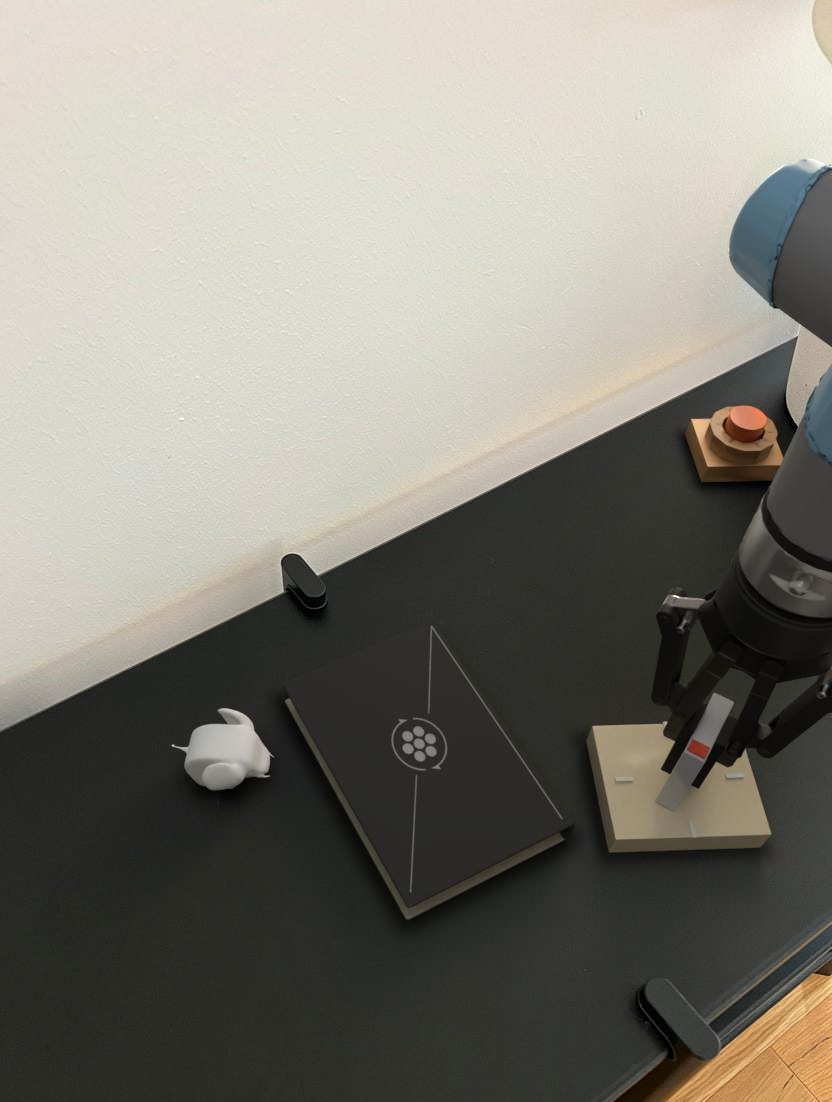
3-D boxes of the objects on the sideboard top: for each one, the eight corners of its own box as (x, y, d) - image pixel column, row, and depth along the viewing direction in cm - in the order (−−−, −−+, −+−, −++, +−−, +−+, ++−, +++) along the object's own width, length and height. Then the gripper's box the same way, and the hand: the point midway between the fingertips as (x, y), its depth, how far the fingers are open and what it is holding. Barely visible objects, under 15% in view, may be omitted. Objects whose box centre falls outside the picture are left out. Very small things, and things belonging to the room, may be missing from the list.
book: (571, 838, 77) (578, 821, 75) (406, 922, 73) (408, 908, 71) (433, 638, 88) (435, 618, 86) (283, 701, 84) (281, 682, 82)
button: (755, 418, 100) (761, 404, 99) (765, 442, 98) (771, 429, 97) (720, 418, 100) (725, 405, 99) (729, 443, 98) (735, 430, 96)
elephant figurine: (267, 815, 78) (262, 781, 73) (169, 805, 79) (157, 770, 74) (281, 742, 82) (277, 704, 77) (186, 732, 83) (177, 694, 78)
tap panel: (727, 735, 83) (737, 719, 80) (761, 849, 77) (773, 834, 75) (585, 739, 82) (592, 723, 80) (608, 854, 76) (616, 840, 74)
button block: (759, 433, 104) (773, 403, 101) (778, 480, 100) (793, 451, 97) (685, 434, 104) (696, 405, 101) (701, 482, 100) (713, 453, 97)
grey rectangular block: (683, 745, 79) (715, 690, 72) (702, 754, 79) (736, 700, 72) (654, 801, 76) (684, 749, 70) (674, 812, 76) (706, 760, 69)
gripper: (657, 561, 57) (578, 756, 76) (913, 676, 53) (761, 852, 72) (704, 483, 61) (617, 688, 80) (947, 584, 56) (794, 775, 76)
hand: (686, 765), depth 76 cm, fingers closed on grey rectangular block, 2 cm apart
